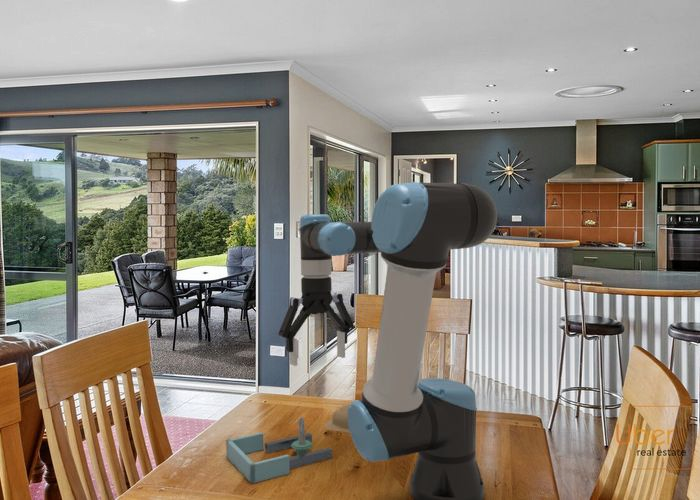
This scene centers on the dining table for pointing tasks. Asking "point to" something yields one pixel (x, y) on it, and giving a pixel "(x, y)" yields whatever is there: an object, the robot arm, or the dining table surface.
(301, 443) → the screw
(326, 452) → the slot
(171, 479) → the dining table surface
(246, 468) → the bracket
